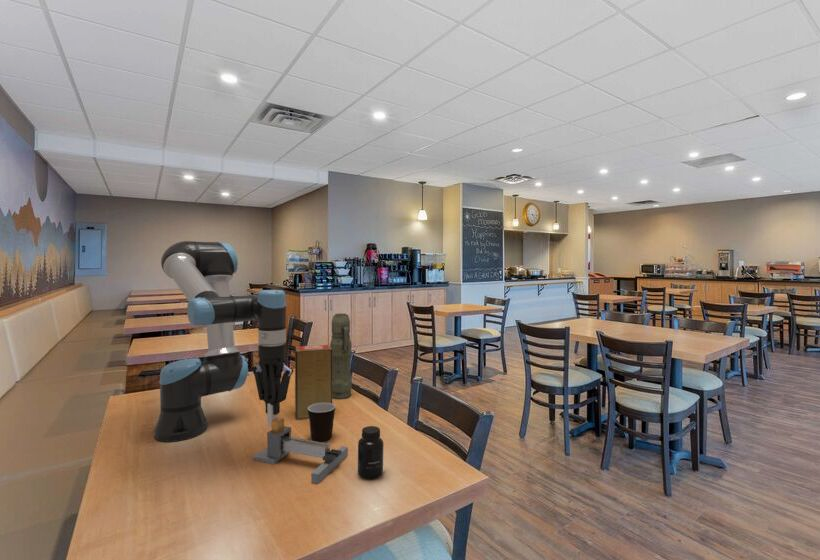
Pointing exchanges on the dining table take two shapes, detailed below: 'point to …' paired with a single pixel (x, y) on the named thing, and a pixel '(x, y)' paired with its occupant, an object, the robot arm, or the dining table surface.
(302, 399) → the food packaging
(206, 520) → the dining table surface
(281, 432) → the collar
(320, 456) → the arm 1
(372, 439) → the supplement bottle
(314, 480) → the stand
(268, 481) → the dining table surface
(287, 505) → the dining table surface
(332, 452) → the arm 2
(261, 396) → the robot arm
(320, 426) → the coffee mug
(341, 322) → the thermos
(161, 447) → the dining table surface
